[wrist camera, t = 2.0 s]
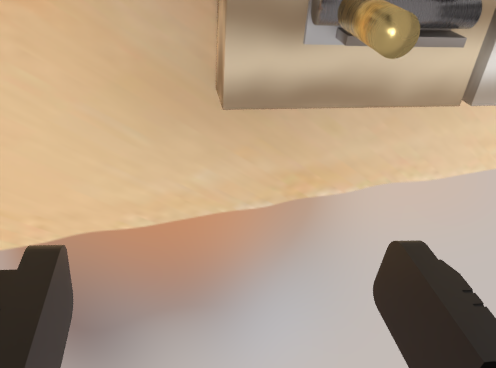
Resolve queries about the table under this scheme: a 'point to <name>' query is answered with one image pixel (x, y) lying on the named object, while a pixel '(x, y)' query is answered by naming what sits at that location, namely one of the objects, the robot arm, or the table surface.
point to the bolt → (394, 20)
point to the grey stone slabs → (345, 62)
